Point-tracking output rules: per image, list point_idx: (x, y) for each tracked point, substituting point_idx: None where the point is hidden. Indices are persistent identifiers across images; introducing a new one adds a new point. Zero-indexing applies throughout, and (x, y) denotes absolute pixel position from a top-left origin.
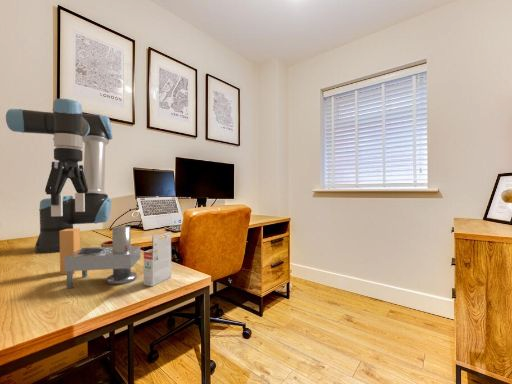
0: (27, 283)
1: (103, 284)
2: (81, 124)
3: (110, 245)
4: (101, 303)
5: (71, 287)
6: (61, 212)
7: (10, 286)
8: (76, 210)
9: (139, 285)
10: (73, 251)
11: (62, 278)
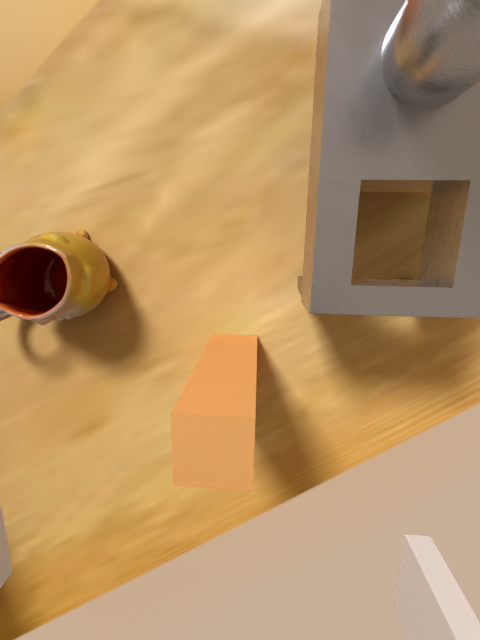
0: (325, 430)
1: None
2: None
3: (72, 264)
4: None
5: (409, 279)
6: (444, 572)
7: (341, 461)
8: (1, 575)
9: None
10: (256, 366)
11: (301, 351)
